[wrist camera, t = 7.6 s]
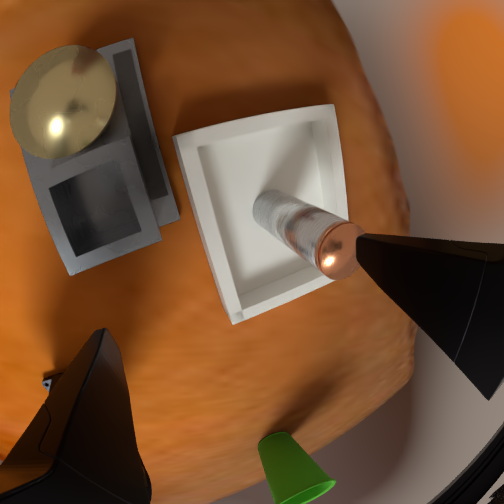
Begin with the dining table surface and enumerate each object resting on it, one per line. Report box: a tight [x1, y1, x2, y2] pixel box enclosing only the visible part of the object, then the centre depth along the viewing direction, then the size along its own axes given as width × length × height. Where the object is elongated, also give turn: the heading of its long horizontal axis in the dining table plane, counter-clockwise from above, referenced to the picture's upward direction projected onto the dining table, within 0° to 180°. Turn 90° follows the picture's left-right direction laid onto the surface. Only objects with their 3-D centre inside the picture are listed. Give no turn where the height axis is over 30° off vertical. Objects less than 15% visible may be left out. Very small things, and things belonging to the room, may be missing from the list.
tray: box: [172, 104, 348, 325], centre depth 21 cm, size 14×11×2 cm
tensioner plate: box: [10, 38, 180, 276], centre depth 14 cm, size 13×9×5 cm
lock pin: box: [252, 189, 365, 280], centre depth 18 cm, size 3×3×9 cm
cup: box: [258, 432, 336, 504], centre depth 31 cm, size 9×9×11 cm
